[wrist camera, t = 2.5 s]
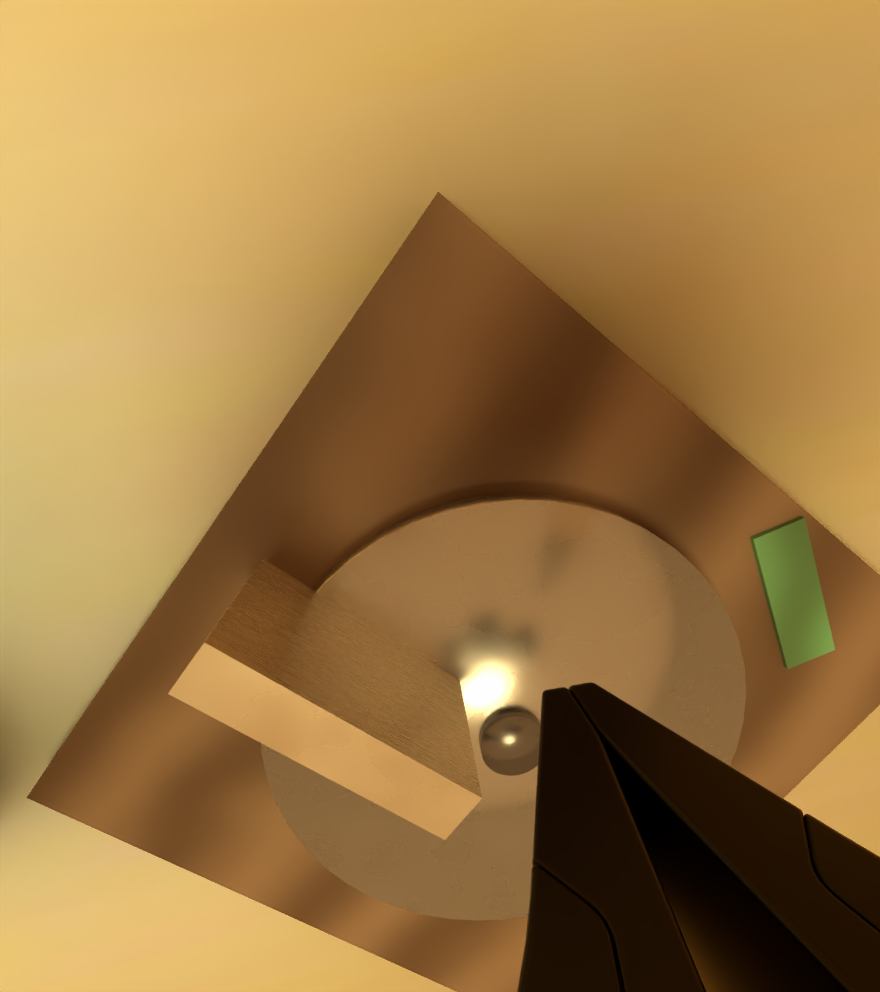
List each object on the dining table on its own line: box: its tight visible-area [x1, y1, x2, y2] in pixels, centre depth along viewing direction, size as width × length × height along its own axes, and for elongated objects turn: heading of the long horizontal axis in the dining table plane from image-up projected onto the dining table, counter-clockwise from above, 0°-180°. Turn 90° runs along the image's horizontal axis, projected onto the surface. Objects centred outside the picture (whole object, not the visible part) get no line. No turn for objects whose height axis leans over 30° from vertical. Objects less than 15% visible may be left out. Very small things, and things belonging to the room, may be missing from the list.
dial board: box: [27, 192, 880, 992], centre depth 20 cm, size 26×26×2 cm
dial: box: [168, 493, 746, 921], centre depth 17 cm, size 22×18×6 cm
